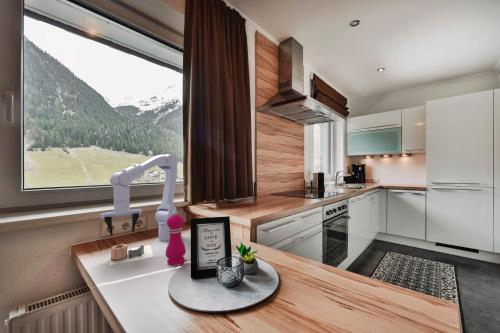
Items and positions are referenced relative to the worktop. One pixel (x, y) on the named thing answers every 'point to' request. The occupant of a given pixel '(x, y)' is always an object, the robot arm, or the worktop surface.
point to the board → (144, 255)
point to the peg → (119, 259)
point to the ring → (119, 252)
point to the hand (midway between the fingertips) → (122, 233)
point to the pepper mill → (175, 241)
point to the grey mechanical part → (136, 252)
